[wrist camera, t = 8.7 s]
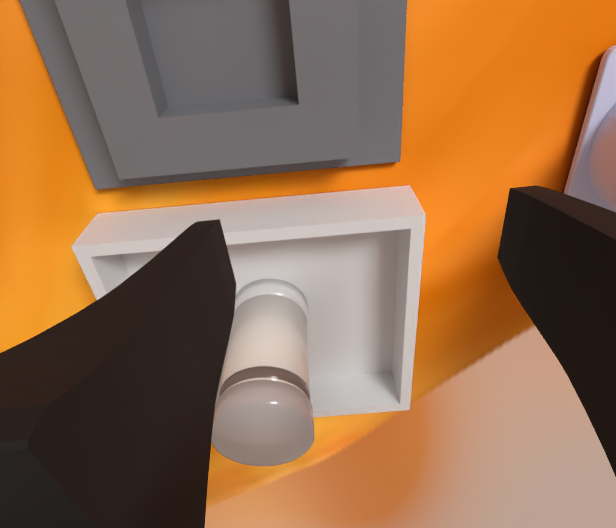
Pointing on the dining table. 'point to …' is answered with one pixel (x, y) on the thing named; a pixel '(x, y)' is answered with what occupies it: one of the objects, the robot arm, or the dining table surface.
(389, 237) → the parts tray
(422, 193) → the dining table surface
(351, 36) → the socket block
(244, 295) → the cylinder
